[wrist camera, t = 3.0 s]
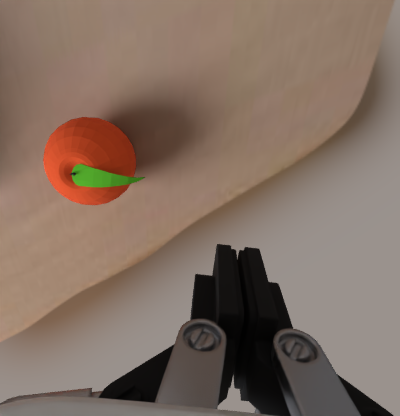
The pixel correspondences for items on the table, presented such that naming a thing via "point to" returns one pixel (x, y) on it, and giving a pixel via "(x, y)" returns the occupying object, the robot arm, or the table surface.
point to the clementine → (90, 161)
